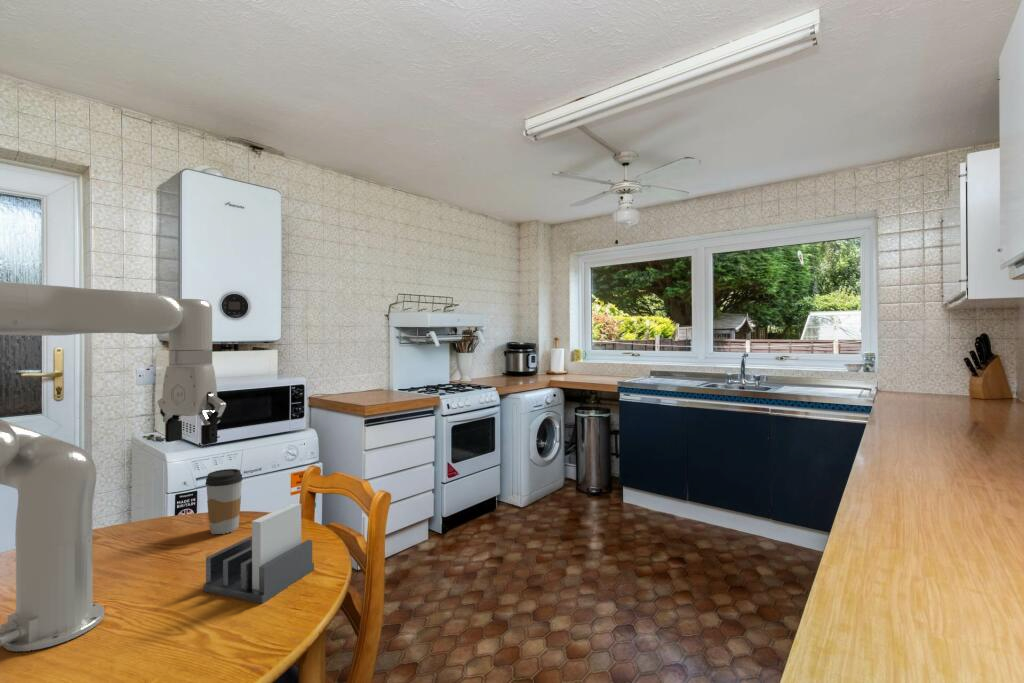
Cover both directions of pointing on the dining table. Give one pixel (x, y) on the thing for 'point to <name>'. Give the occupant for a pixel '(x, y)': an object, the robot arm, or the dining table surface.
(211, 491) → the coffee cup
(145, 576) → the dining table surface
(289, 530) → the plate
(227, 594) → the dish rack
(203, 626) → the dining table surface
